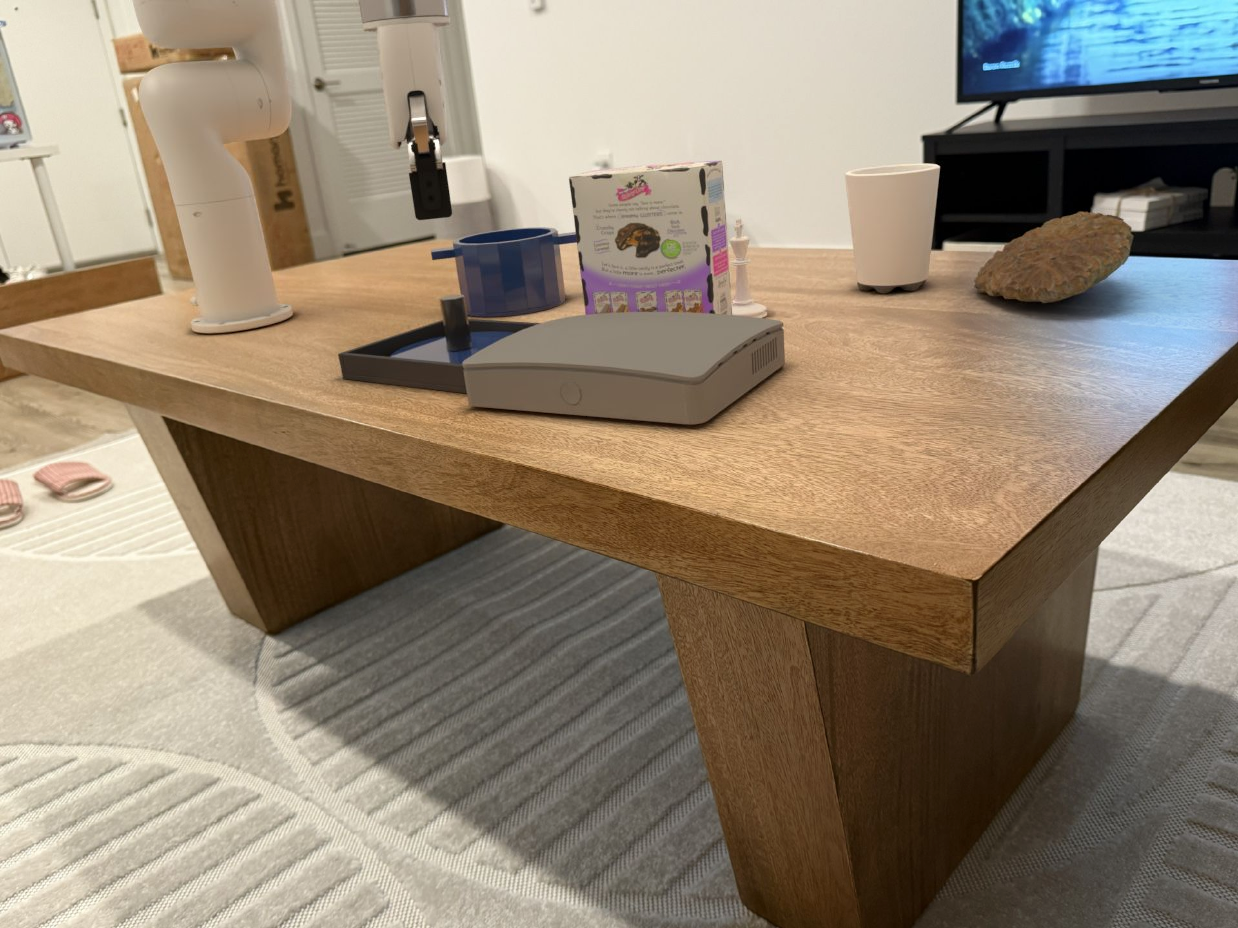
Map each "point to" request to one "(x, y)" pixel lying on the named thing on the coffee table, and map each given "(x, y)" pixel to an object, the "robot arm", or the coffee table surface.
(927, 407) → the coffee table surface
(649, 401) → the electronic device
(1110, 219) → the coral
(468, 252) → the pot
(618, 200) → the candy box
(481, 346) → the lid
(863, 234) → the cup
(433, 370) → the tray
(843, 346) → the coffee table surface
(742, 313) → the chess piece
